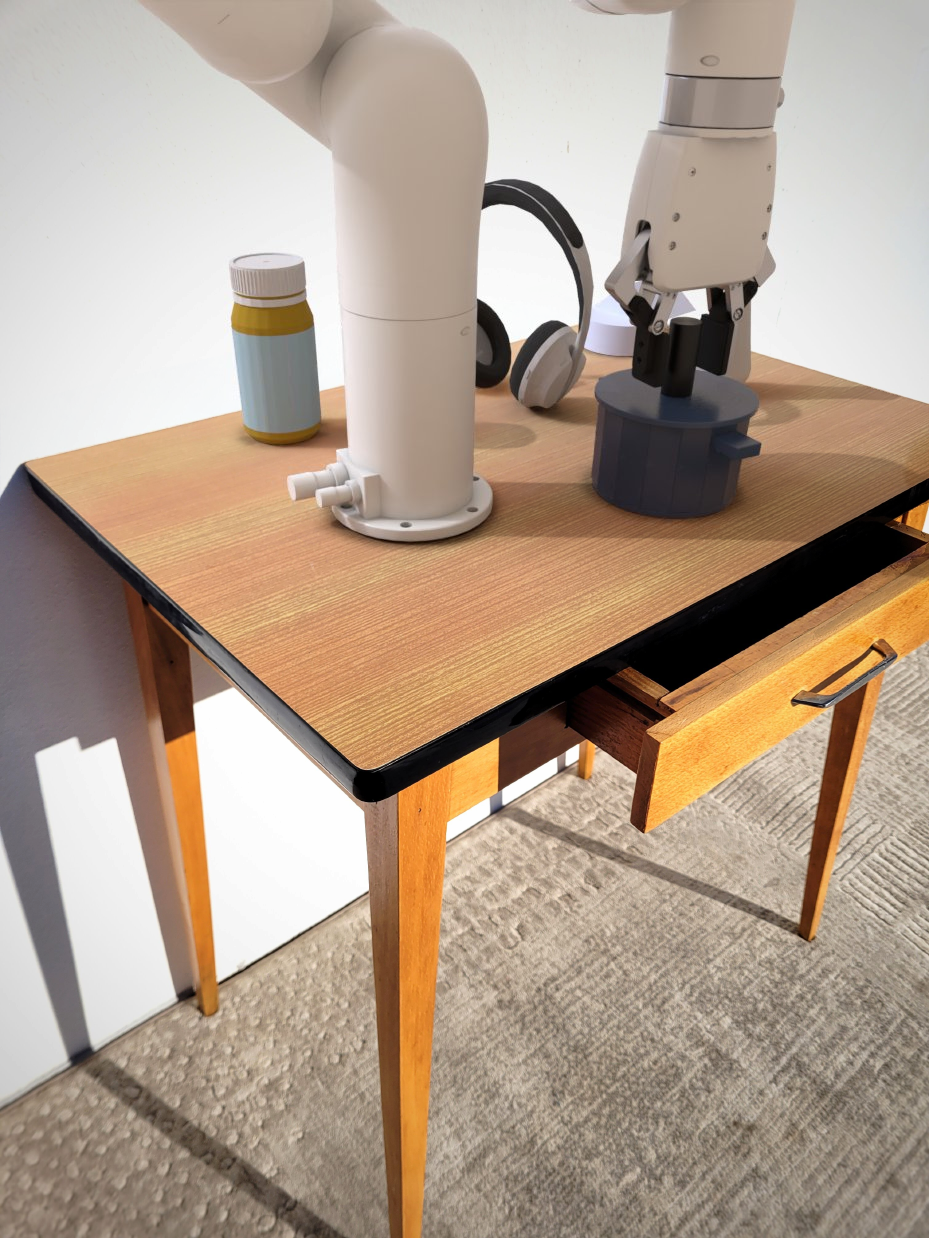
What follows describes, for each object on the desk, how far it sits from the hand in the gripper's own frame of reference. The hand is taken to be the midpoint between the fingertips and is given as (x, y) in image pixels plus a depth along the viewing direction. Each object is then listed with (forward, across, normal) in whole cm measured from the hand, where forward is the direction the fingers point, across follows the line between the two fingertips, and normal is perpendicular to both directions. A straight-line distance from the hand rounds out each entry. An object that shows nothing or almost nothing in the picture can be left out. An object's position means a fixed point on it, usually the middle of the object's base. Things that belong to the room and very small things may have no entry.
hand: (678, 374), depth 71 cm
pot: (+9, 0, 0) cm, 9 cm away
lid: (+2, 0, 0) cm, 2 cm away
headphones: (+10, +1, -24) cm, 26 cm away
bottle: (+10, +24, -25) cm, 36 cm away
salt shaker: (+10, -20, -16) cm, 27 cm away
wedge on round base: (+10, -22, -34) cm, 42 cm away
